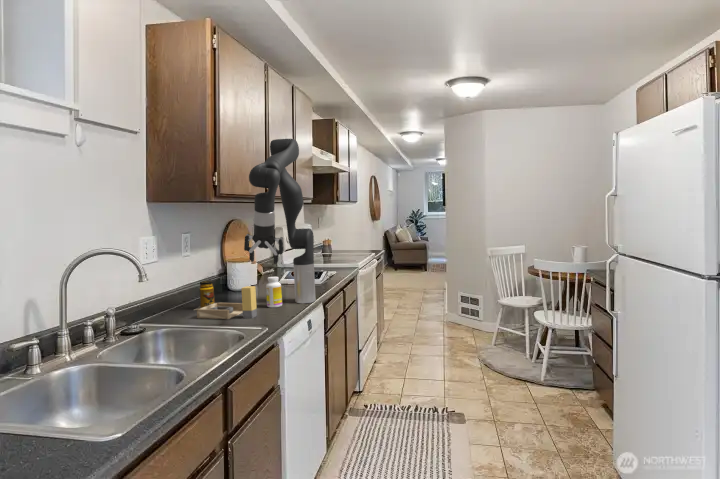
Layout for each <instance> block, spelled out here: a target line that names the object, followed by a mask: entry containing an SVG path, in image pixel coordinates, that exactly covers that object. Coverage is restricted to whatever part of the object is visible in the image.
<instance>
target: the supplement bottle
mask: <svg viewBox="0 0 720 479" xmlns="http://www.w3.org/2000/svg"><path fill="white" fill-rule="evenodd" d="M267 281H268V283H266V284H265V294H266V306H267V307H268V308H270V309H271V308H279V307H282V306H283V295H282V294H283V292H282V284H281V283H280V282H279V276H268V277H267Z"/></svg>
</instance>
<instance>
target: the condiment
mask: <svg viewBox="0 0 720 479" xmlns="http://www.w3.org/2000/svg"><path fill="white" fill-rule="evenodd" d="M199 302H200V304H199V306H198V307H196V308H195V309H194V311H197V309H200V308H203V307H206V306H208V305H211V304H214V303H216V301H215V288H214V285H213V281H212V280H204V281H200V282H199Z"/></svg>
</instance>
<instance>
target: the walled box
mask: <svg viewBox="0 0 720 479" xmlns="http://www.w3.org/2000/svg"><path fill="white" fill-rule="evenodd" d="M241 314H243V308H242V302H215V303H214V304H211V305H208V306H206V307H203V308H200V309H197V310H196V319H205V320H209V319H210V320H230V319H232V318H234V317H236V316H238V315H241Z"/></svg>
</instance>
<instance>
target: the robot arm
mask: <svg viewBox="0 0 720 479" xmlns="http://www.w3.org/2000/svg"><path fill="white" fill-rule="evenodd" d="M269 143H270V144H269V152H270V156H268V157H267V159H265V161H264V162H261V163H259V164H256V165H254V167H253V168H251V170H250V171H249V175H248V181H249V183H250V184H251V185H252V186H253V187H255V188H263V189H268V191H265V192H258V193H256V194H255V196H254V209H253V210H254V211H253V219H252V220H253V235H251V234H250V233H247V234H246V235H245V236H244V243H243V245H244V246H243V250H244V251H245V252H248V255H249V261H250V262H252V263H254V261H255V250H256V249H257V247H258V248H259V249H266V250H267V249H269V251H271V252H272V253H273V265H276V264H277V263H278V262H279V255H283V253H284V250H285V249H284V237H282V236H280V237H276V234H275V231H276V215H275V214H276V213H275V202H276V201H275V200H276V195H277V191H278V188H279V195H280V199H281V204H282V208H283V212H284V218H285V223H286V230H287V238H288V244H289V246H290V248H291V249H293V250H305V251H304V252H303V254H300V255H298V256H295V257H294V258H293V263H292V264H293V266H292V267H293V279H294V280H293V281H294V282H293V283H294V301H295V303H296V304H311V303H315V302H316V280H315V262H314V259H315V258H314V257H315V255H314V254H315V253H314V252H315V251H314V250H315V249H314V246H315V245H314V242H315V241H314V240H315V239H314V231H313V229H311V228H297V227H296V223H297V222H296V221H297V219H298V216H299V214H300V212H301V211H302V209H303V206H304V196H303V190H302V188H301V186H300V184H299V183H298V182H297V180H296V179H294V177H293V176H292V175H291V174H290V173H289V172H288V171H287V169H286V168H287V167H288V166H289V165H291V164H292V163H293V162H295V161H297V160H298V158H299V154H300V148H299V147H300V146H299V144H298V141H297V140H296V139H294V138H279V139H276V138H275V139H272V140H271V141H270V142H269ZM251 240H252V241H253V242H254V244H253V245H252V246H250V241H251ZM275 242H276V244H278V248H277V246H276V244H275Z"/></svg>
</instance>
